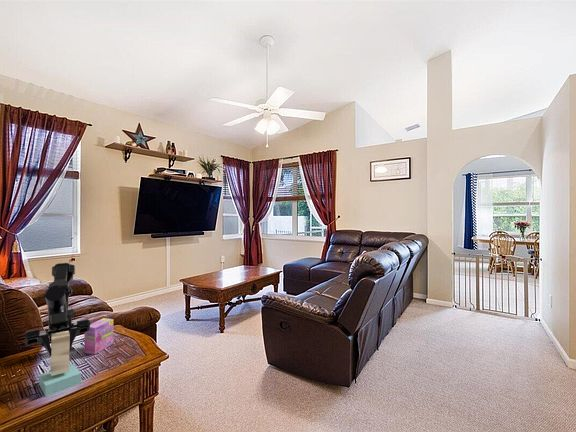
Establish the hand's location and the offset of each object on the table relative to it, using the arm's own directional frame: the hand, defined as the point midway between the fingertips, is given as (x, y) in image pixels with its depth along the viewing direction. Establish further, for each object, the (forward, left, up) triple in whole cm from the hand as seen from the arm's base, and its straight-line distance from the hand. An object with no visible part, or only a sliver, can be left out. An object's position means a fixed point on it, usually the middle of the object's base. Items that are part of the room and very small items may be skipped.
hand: (60, 353), depth 104 cm
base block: (-1, +1, -12) cm, 12 cm away
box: (-12, +26, -12) cm, 31 cm away
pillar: (-1, +1, -7) cm, 7 cm away
